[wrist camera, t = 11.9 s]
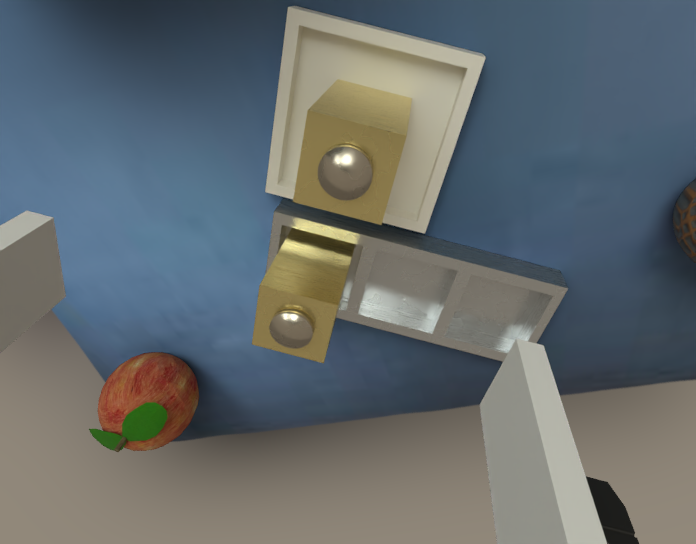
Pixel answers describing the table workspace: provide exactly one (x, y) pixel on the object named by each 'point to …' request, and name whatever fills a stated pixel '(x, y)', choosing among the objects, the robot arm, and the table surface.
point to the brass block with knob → (302, 295)
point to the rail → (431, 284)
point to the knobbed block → (352, 150)
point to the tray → (383, 74)
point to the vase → (686, 220)
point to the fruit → (146, 402)
